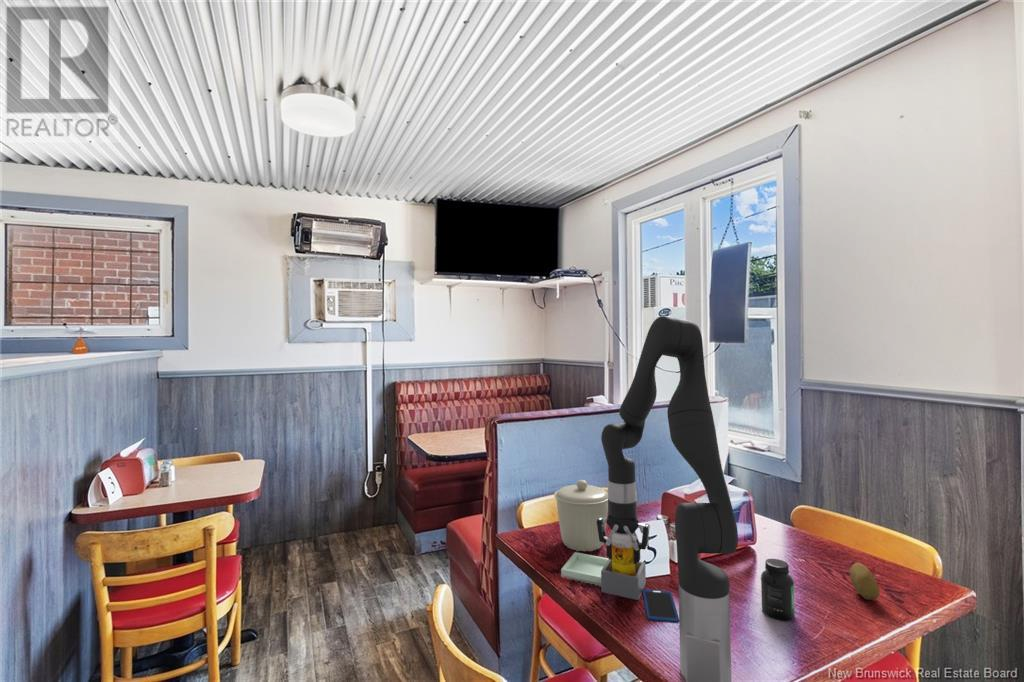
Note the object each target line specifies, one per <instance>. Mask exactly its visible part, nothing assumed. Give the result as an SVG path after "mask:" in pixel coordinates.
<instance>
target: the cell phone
mask: <svg viewBox="0 0 1024 682" xmlns="http://www.w3.org/2000/svg"><path fill="white" fill-rule="evenodd" d="M642 597H643V598H642V599H643V604H644V607H645V608H644V609H645V613H646V614H645V615H646V618H647V620H648V621H652V622H663V623H675V624H679V612H678V611H677V606H676V603H675V601H674V597H673V592H671V590H670V591H669V590H663V589H662V590H661V589H660V590H659V589H647V588H646V589H645V588H644V589H643V591H642Z"/></svg>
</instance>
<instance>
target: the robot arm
mask: <svg viewBox="0 0 1024 682" xmlns="http://www.w3.org/2000/svg"><path fill="white" fill-rule="evenodd" d="M703 343H704V342H703V336H702V331H701V329H700V327H699V326H698V325H697V324H696V322H693V321H691V320H689V319H683V318H677V317H674V316H667V315H661V316H659V317H656V319H654V321H653V322H652V324H651V325H650V327H649V329H648V332H647V334H646V337H645V341H644V343H643V346H642V350H641V354H640V356H639V359H638V362H637V367H636V370H635V373H634V377H633V379H632V381H631V384H630V386H629V388H628V391H627V392H626V394H625V396H624V399H623V400H622V402H621V405H620V408H619V411H618V412H619V416H620V419H622V422H614V423H609V424H607V425H605V426H604V427H603V430H602V431H601V438H600V439H601V444H602V448H603V451H604V456H605V459H606V462H607V467H608V468H607V470H608V475H607V476H608V483H607V492H608V513H607V518H602V517H599V519H598V520H597V528H598V535H599V541H600V542H604V543H603V544H605V548H606V551H605V553H606V556H607V557H608V558H609V559H610V560H612V545H611V542H612V535H613V534H614V532H615V533H616V532H617V533H621V534H627V535H629V534H630V535H629V536H630V538H631V542H632V543H633V547H634V564H637V563H639V561H640V562H641V550H646V549H647V546H648V544H649V543H648V542H649V535H650V524H648V523H641V522H640V521H639V520H638V504H637V503H638V494H637V492H638V491H637V485H636V465H635V461H634V460H633V459H632V458H630V457H626V456H625V455H624V452H623V450H626V449H633V448H635V447H637V445H638V444H639V443H640V442H641V440H642V438H643V435H644V434H643V433H644V430H645V429H644V428H645V423H646V419H647V418H648V415H649V414H650V412H651V410H652V409H653V406H654V405H655V403H656V398H657V394H658V393H657V392H658V391H657V382H656V368H657V365H658V362H659V360H660V359H661V358H662V356H664V357H665V356H666V357H672V358H676V359H677V361H678V365H679V382H678V384H677V386H676V388H675V390H674V392H673V394H672V396H671V399H670V400H669V403H668V406H667V409H666V410H667V411H666V412H667V421H668V428H669V435H670V439H671V440H670V441H671V442H672V444H673V446H674V447H675V449H676V451H678V453H679V454H680V455H681V457H682V458H683V459H684V461H686V462H687V464H688V465H689V466H690V467H691V468H692V469H693V472H695V474H696V475H697V476H698V478H699V480H700V482H701V483H702V485H703V487H704V491H705V493H706V495H707V499H708V502H681V503H679V504H677V506H676V508H675V513H674V529H675V541H676V556H677V557H676V558H677V559H676V561H677V573H678V575H677V577H678V579H677V580H678V617H679V623H678V624H679V626H678V627H679V661H680V662H679V665H680V666H679V667H680V674H681V677H682V678H683V679H684V680H685V682H732V656H731V655H732V650H731V647H732V645H731V642H732V641H731V605H730V604H731V602H730V601H731V599H730V598H731V597H730V596H731V595H730V593H731V592H730V580H729V575H728V574H727V572H725V570H723V569H722V568H721V567H718V566H717V565H714V564H712V563H710V562H706V561H704V560H702V559H700V558H698V556H699V554H715V555H716V554H719V555H723V554H727V555H728V554H729V555H730V554H734V553H735V552H736V551H737V549H738V546H739V545H738V544H739V533H738V524H737V520H736V516H735V513H734V509H733V505H732V501H731V499H730V498H731V497H730V495H729V491H728V490H729V489H728V486H727V482H726V479H725V475H724V470H723V467H722V462H721V461H722V460H721V457H720V456H721V455H720V450H719V444H718V438H717V429H716V426H715V421H714V415H713V410H712V406H711V401H710V396H709V390H708V384H707V383H708V382H707V378H706V369H705V357H704V345H703ZM606 523H607V524H606ZM605 525H606V526H608V527H609V528H610V530H611V531H610V533H609V535H608V536H607V535H606V534H607V533H605ZM637 529H639V530H640V533H641V534H642V536H641V542H640V541H639V539H638V535H637V533H636V531H637ZM633 533H634V536H635V537H633ZM607 557H606V558H607Z"/></svg>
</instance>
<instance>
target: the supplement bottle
mask: <svg viewBox="0 0 1024 682" xmlns="http://www.w3.org/2000/svg"><path fill="white" fill-rule="evenodd" d="M764 565H765V566H764V567H765V568H764V569H765V570H764V571H762V572H761V574H760V584H761V586H760V587H761V588H760V591H761V609H762V612H763V613H764V614H765V615H766V616H767V617H769V618H771V619H774V620H776V621H780V622H784V621H785V622H788V621H792V620H793V619H794V618H795V613H796V612H795V610H796V608H795V581H794V579H793V577H792V576H791V575H790V574H789V573H790V570H789V569H790V568H789V564H788V562H786V561H784V560H783V559H782V560H781V559H779V558H778V559H777V558H767V559H766V560H765V562H764Z"/></svg>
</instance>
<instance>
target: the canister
mask: <svg viewBox="0 0 1024 682" xmlns="http://www.w3.org/2000/svg"><path fill="white" fill-rule="evenodd" d="M553 496H554V498H555V500H556V507H557V515H558V523H559V530H560V535H561V536H560V537H561V540H562V542H563V544H564V546H567V547H566V548H568V549H569V548H570V550H572V549H573V550H572V551H574V550H576V551H575V552H579V551H591V552H594V551H593V550H595V551H597V550H596V549H598V550H599V549H601V548H602V547H603V546H604V544H605V543H604V542H600V541H599V535H598V528H597V520H598V519H599V517H602V518H608V490H605V489H603V488H601V487H599V486H597V485H596V486H595V485H591V484H588V482H587V481H586V480H584V479H579V480H577V482H576V484H571V485H565V486H562V487H561V488H559V489H558V490H556V491H554V494H553ZM607 525H608V524H607V523H606V525H605V534H607V533H606V531H607ZM601 546H602V547H601Z"/></svg>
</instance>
